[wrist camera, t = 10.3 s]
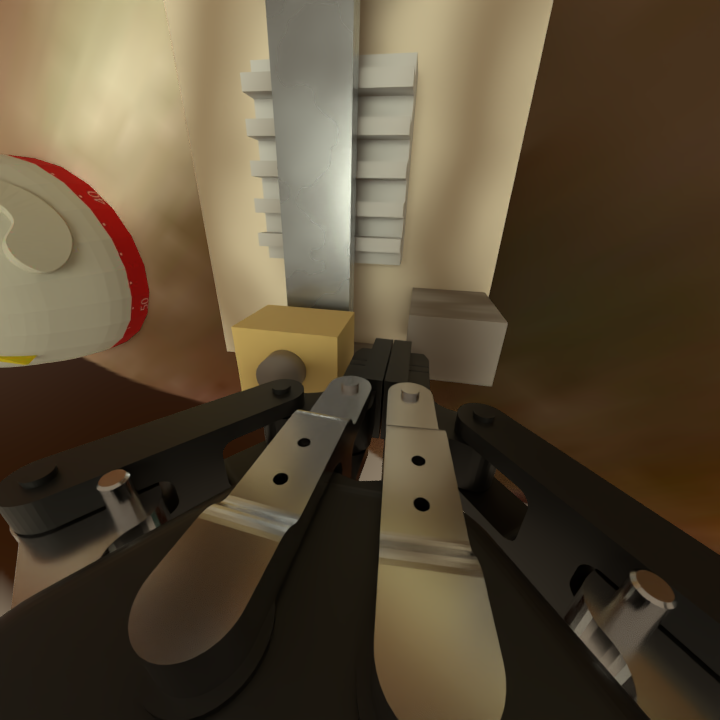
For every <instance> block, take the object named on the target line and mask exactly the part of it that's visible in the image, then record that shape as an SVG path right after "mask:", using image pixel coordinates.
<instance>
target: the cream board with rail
mask: <svg viewBox="0 0 720 720" xmlns="http://www.w3.org/2000/svg"><path fill="white" fill-rule="evenodd" d="M163 1H164V6H165V12H166V17H167V23H168V28H169V34H170V39H171V45H172V50H173V56H174V61H175V67H176V72H177V78H178V83H179V89H180V94H181V100H182V105H183V111H184V116H185V122H186V127H187V133H188V138H189V144H190V149H191V155H192V160H193V166H194V171H195V177H196V182H197V188H198V193H199V198H200V204H201V209H202V215H203V220H204V226H205V231H206V237H207V242H208V248H209V253H210V259H211V264H212V270H213V275H214V281H215V286H216V292H217V297H218V303H219V308H220V314H221V319H222V325H223V330H224V336H225V341H226V347H227V351H231V352H235V346H234V341H233V335H232V329H231V327H232V326H233V325H235V324H237V323H238V322H240V321H242V320H243V319H245V318H247V317H248V316H250V315H252V314H253V313H255V312H257V311H258V310H260V309H262V308H263V307H265V306H267V305H279V306H288V305H287V291H286V278H285V264H284V251H283V237H282V223H281V210H280V196H279V182H278V169H277V155H276V142H275V128H274V114H273V101H272V87H271V73H270V60H269V46H268V33H267V19H266V5H265V0H163ZM552 4H553V0H360V28H359V74H358V120H357V165H356V211H355V257H354V302H353V312H355V316H354V353H355V352H356V351H358V350H360V349H361V348H370V349H372V347H373V344H374V342H375V339H376V338H382V339H393V344H394V340H403V341H412V346H411V353H418V354H424V355H425V356H426V357H427V358H428V360H429V379H431V380H440V381H449V382H457V383H466V384H475V385H484V386H492V383H493V379H494V376H495V372H496V368H497V364H498V360H499V356H500V352H501V348H502V344H503V341H504V337H505V333H506V329H507V325H508V323H507V321H506V320H505V319H504V317H503V316H502V315H501V313H500V312H499V311H498V309H497V308H496V307H495V305H494V304H493V303H492V301H491V300H490V299H489V293H490V288H491V284H492V279H493V275H494V270H495V265H496V261H497V256H498V252H499V247H500V242H501V238H502V233H503V229H504V224H505V220H506V215H507V210H508V206H509V201H510V197H511V192H512V188H513V183H514V178H515V174H516V169H517V165H518V160H519V155H520V151H521V146H522V142H523V137H524V133H525V128H526V123H527V119H528V114H529V110H530V105H531V100H532V96H533V91H534V87H535V82H536V78H537V73H538V68H539V64H540V59H541V55H542V50H543V46H544V41H545V36H546V32H547V27H548V23H549V18H550V13H551V9H552Z"/></svg>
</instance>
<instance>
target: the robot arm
mask: <svg viewBox="0 0 720 720" xmlns="http://www.w3.org/2000/svg"><path fill="white" fill-rule="evenodd" d="M411 346H412V341H403V340H394V344H393V339H382V338H376V339H375V342H374V344H373V347H372V349H370V348H361V349H360V350H358V351H356V352H355V353H354V355H353V357H352V359H351V361H350V364H349V365H348V367H347V369H346V371H345V373H344V375H343V376H342V377H338V378H336V379H334V380H332V381H331V382H330V384H329V385H328V386H327V388H326V389H325V391H323V392H315V393H304V386H303V385H302V384H301V383H300V382H298V381H296V380H292V379H278V380H274V381H270V382H267V383H264V384H261V385H258V386H256V387H253V388H250V389H247V390H244V391H241V392H238V393H235V394H232V395H229V396H226V397H223V398H220V399H217V400H214V401H211V402H208V403H205V404H202V405H200V406H196V407H193V408H190V409H188V410H185V411H182V412H179V413H176V414H173V415H170V416H167V417H164V418H161V419H158V420H155V421H152V422H149V423H146V424H143V425H140V426H138V427H134V428H131V429H128V430H125V431H122V432H119V433H117V434H114V435H111V436H108V437H105V438H102V439H99V440H96V441H93V442H90V443H87V444H84V445H81V446H78V447H75V448H73V449H69V450H66V451H63V452H60V453H58V454H55V455H51V456H49V457H46V458H43V459H40V460H37V461H35V462H32V463H30V464H28V465H26V466H24V467H22V468H20V469H18V470H16V471H15V472H13V473H12V474H10V475H9V476H7V477H6V478H5V479H4V480H2V481H1V482H0V513H1V515H2V516H3V517H4V519H5V520H6V522H7V523H8V524H9V526H10V532H11V533H12V535H13V536H14V537H15V539H16V540H17V541H18V543H19V548H18V557H17V565H16V573H15V581H14V589H13V597H12V606H11V610H10V611H8V612H7V613H5V614H4V615H3V616H1V617H0V720H720V555H719V554H717V553H716V552H714V551H712V550H711V549H709V548H708V547H706V546H705V545H703V544H702V543H700V542H699V541H697V540H696V539H694V538H693V537H691V536H690V535H688V534H687V533H685V532H684V531H682V530H681V529H679V528H677V527H676V526H674V525H673V524H671V523H670V522H668V521H667V520H665V519H664V518H662V517H661V516H659V515H658V514H656V513H655V512H653V511H652V510H650V509H649V508H647V507H646V506H644V505H642V504H641V503H639V502H638V501H636V500H635V499H633V498H632V497H630V496H629V495H627V494H626V493H624V492H623V491H621V490H620V489H618V488H617V487H615V486H614V485H612V484H611V483H609V482H607V481H606V480H604V479H603V478H601V477H600V476H598V475H597V474H595V473H594V472H592V471H591V470H589V469H588V468H586V467H585V466H583V465H582V464H580V463H579V462H577V461H576V460H574V459H572V458H571V457H569V456H568V455H566V454H565V453H563V452H562V451H560V450H559V449H557V448H556V447H554V446H553V445H551V444H550V443H548V442H547V441H545V440H544V439H542V438H541V437H539V436H537V435H536V434H534V433H533V432H531V431H530V430H528V429H527V428H525V427H524V426H522V425H521V424H519V423H518V422H516V421H515V420H513V419H512V418H510V417H509V416H507V415H506V414H504V413H502V412H501V411H499V410H498V409H496V408H494V407H491V406H489V405H485V404H480V403H468V404H464V405H462V406H461V407H460V408H459V409H458V411H457V412H455V411H452V410H449V409H446V408H444V407H442V406H440V405H438V404H437V403H436V402H435V401H434V400H433V395H432V393H431V391H430V379H429V360H428V358H427V357H426V356H425V355H424V354H418V353H411ZM261 427H264V430H265V438H266V441H263V442H261V443H259V444H257V445H255V446H253V447H250V448H248V449H246V450H244V451H242V452H239V453H237V454H235V455H233V456H231V457H228V458H226V459H223V450H224V448H225V446H226V445H227V444H228V443H229V442H230V441H232V440H234V439H236V438H238V437H241V436H243V435H245V434H248V433H250V432H252V431H255V430H257V429H259V428H261ZM380 430H381V436H380V439H384V450H383V463H382V479H381V481H359V478H360V475H361V473H362V470H363V467H364V464H365V461H366V458H367V456H368V446H369V445H370V442H371V438H372V437H373V438H379V434H380ZM496 468H497V469H498V470H499V471H500V472H501V473H502V474H504V475H505V476H506V477H507V478H508V479H509V480H511V481H512V482H513V483H514V484H515V485H517V486H518V487H519V488H520V489H521V490H522V492H523V493H524V495H525V496H526V499H527V502H528V506H526V505H525V504H524V503H523V502H522V501H521V500H520V499H519V498H517V497H516V496H515V495H514V494H513V493H512V492H511V491H509V490H508V489H507V488H506V487H505V486H504V485H503V484H502V483H500V482H499V481H498V480H497V479H496V478H495V477H494V474H495V471H496ZM463 511H464V512H465V513H464V512H463Z"/></svg>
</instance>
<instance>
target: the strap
mask: <svg viewBox="0 0 720 720" xmlns="http://www.w3.org/2000/svg"><path fill="white" fill-rule="evenodd" d="M265 5H266V19H267V33H268V46H269V60H270V73H271V87H272V101H273V114H274V128H275V142H276V155H277V169H278V182H279V196H280V210H281V223H282V237H283V251H284V264H285V278H286V291H287V305H288V306H291V307H303V308H315V309H326V310H338V311H350V312H353V302H354V257H355V211H356V165H357V120H358V74H359V28H360V0H265Z"/></svg>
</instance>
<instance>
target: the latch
mask: <svg viewBox="0 0 720 720" xmlns="http://www.w3.org/2000/svg"><path fill="white" fill-rule="evenodd" d="M354 316H355V312H350V311H338V310H326V309H315V308H303V307H291V306H279V305H267V306H265V307H263V308H262V309H260V310H258V311H257V312H255V313H253V314H252V315H250V316H248V317H247V318H245V319H243V320H242V321H240V322H238V323H237V324H235V325H233V326H232V327H231V329H232V335H233V341H234V346H235V352H236V358H237V364H238V370H239V376H240V382H241V388H242V391H244V390H247V389H250V388H253V387H256V386H258V385H261V384H264V383H267V382H270V381H274V380H278V379H292V380H296V381H298V382H300V383H301V384H302V385H303V386H304V393H315V392H323V391H325V389H326V388H327V386H328V385H329V384H330V382H331V381H332V380H334V379H336V378H338V377H342V376H343V375H344V373H345V371H346V369H347V367H348V365H349V364H350V361H351V359H352V357H353V355H354Z"/></svg>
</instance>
